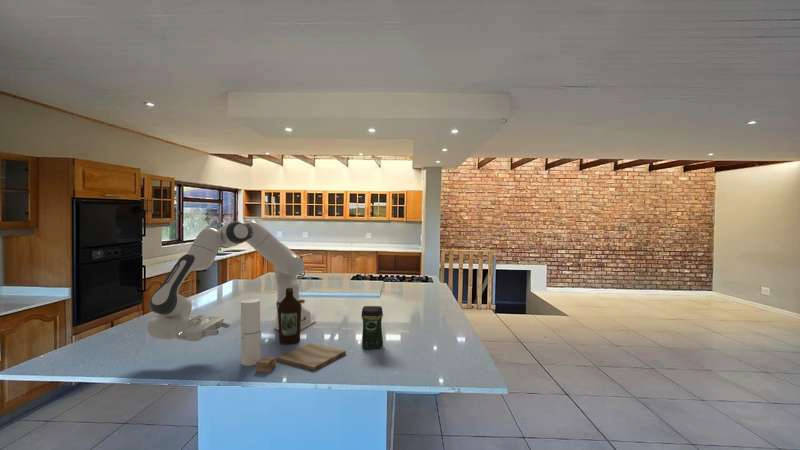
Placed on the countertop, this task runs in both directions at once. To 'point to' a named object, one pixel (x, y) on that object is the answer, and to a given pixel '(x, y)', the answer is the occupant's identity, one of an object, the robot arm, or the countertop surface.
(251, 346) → the cylindrical container
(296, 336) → the olive oil
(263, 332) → the countertop surface
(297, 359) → the board
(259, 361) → the walnut block
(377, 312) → the coffee jar
